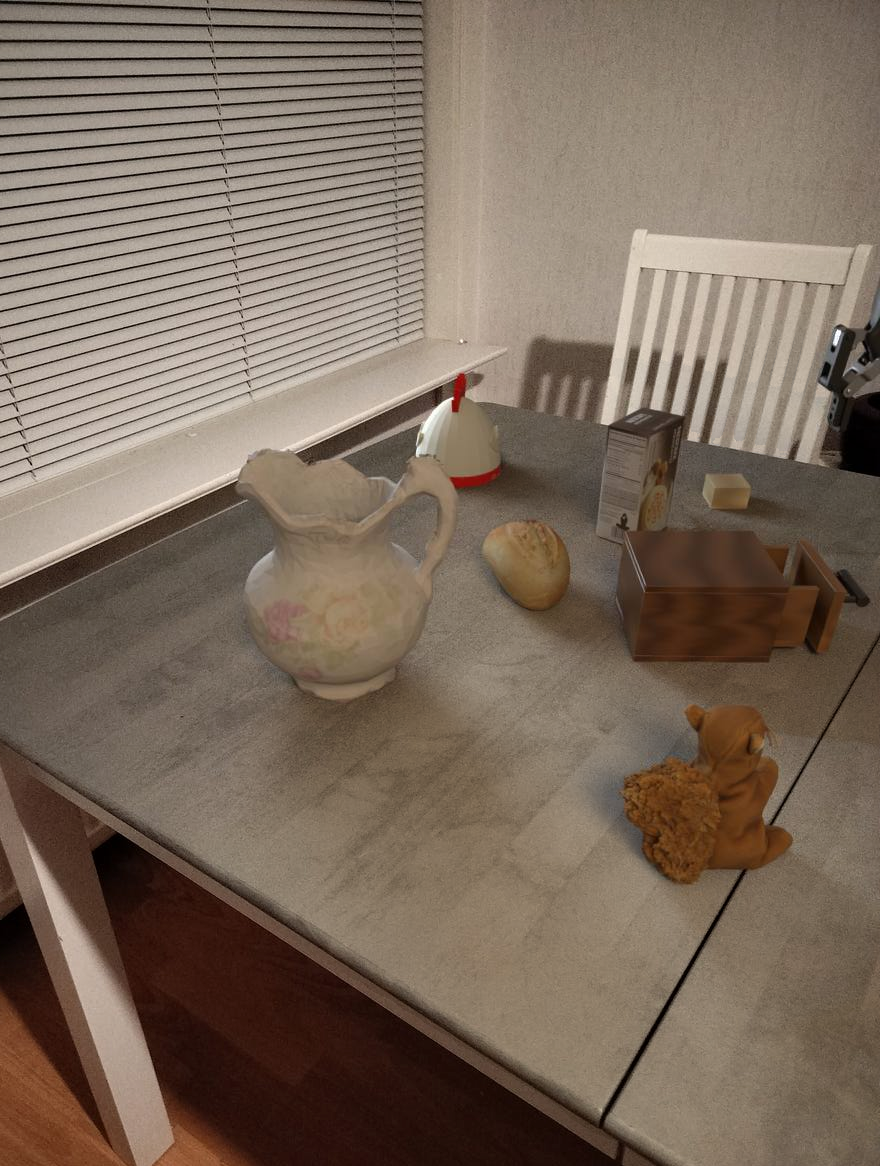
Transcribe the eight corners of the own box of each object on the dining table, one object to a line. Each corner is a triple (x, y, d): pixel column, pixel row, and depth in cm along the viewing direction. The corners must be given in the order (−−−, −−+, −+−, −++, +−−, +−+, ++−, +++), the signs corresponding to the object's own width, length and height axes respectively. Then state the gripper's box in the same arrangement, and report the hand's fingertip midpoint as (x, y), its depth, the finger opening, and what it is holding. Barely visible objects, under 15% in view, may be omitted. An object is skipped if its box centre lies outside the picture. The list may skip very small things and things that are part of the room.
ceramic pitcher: (434, 621, 103) (429, 416, 90) (473, 711, 86) (473, 474, 74) (253, 642, 100) (223, 433, 88) (257, 739, 83) (221, 498, 71)
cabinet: (736, 601, 103) (753, 530, 98) (769, 662, 93) (790, 586, 87) (614, 601, 104) (624, 530, 98) (633, 661, 93) (645, 585, 88)
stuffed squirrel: (798, 845, 71) (840, 723, 64) (687, 929, 65) (720, 804, 57) (700, 778, 78) (728, 661, 71) (591, 848, 71) (609, 727, 64)
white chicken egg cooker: (505, 456, 142) (510, 366, 134) (494, 490, 131) (498, 394, 123) (424, 450, 145) (423, 362, 137) (406, 483, 134) (404, 389, 126)
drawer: (828, 598, 102) (846, 540, 97) (867, 653, 92) (889, 591, 88) (677, 597, 102) (688, 539, 98) (701, 652, 93) (714, 590, 89)
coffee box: (627, 513, 124) (643, 405, 114) (668, 526, 120) (687, 415, 111) (593, 536, 118) (607, 423, 109) (634, 550, 114) (652, 435, 105)
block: (734, 505, 125) (741, 473, 122) (744, 520, 121) (751, 487, 118) (699, 505, 125) (706, 473, 123) (708, 520, 121) (715, 487, 118)
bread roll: (532, 552, 114) (536, 497, 110) (587, 607, 103) (594, 549, 98) (466, 564, 112) (467, 509, 108) (514, 622, 100) (518, 563, 96)
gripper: (871, 272, 77) (825, 444, 86) (1029, 268, 77) (966, 440, 86) (835, 256, 83) (795, 418, 92) (982, 252, 83) (927, 415, 92)
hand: (878, 428), depth 89 cm, fingers open, 8 cm apart
